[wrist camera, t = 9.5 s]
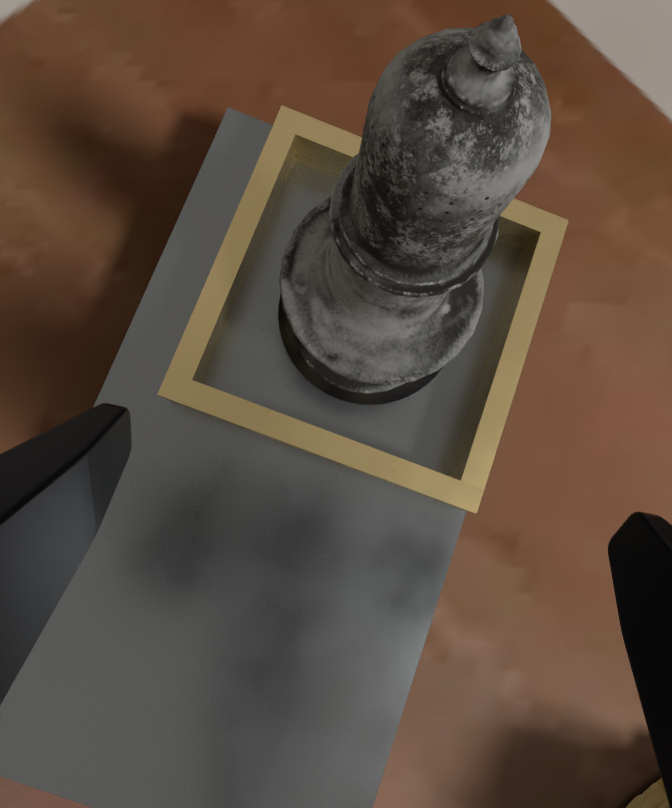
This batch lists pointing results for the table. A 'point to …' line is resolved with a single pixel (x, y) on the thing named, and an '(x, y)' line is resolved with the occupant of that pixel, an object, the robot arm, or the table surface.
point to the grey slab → (264, 516)
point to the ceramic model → (651, 797)
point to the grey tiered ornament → (416, 210)
